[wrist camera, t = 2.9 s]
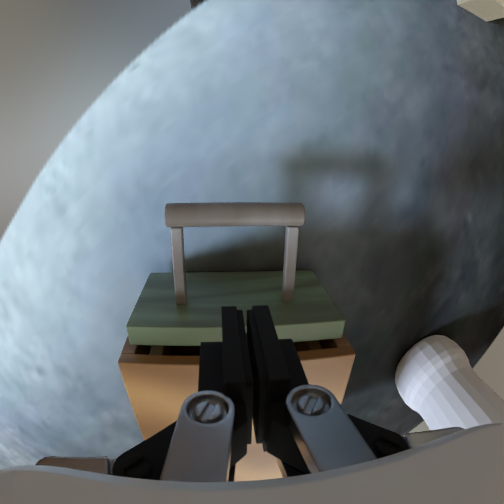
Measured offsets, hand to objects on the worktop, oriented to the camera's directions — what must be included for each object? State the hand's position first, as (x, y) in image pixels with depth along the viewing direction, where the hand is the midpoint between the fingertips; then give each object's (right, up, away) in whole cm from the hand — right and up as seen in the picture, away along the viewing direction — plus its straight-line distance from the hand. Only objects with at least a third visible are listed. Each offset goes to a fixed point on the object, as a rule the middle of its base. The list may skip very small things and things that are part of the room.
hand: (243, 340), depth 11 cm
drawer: (-1, -2, +12) cm, 12 cm away
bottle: (+19, -9, +17) cm, 27 cm away
